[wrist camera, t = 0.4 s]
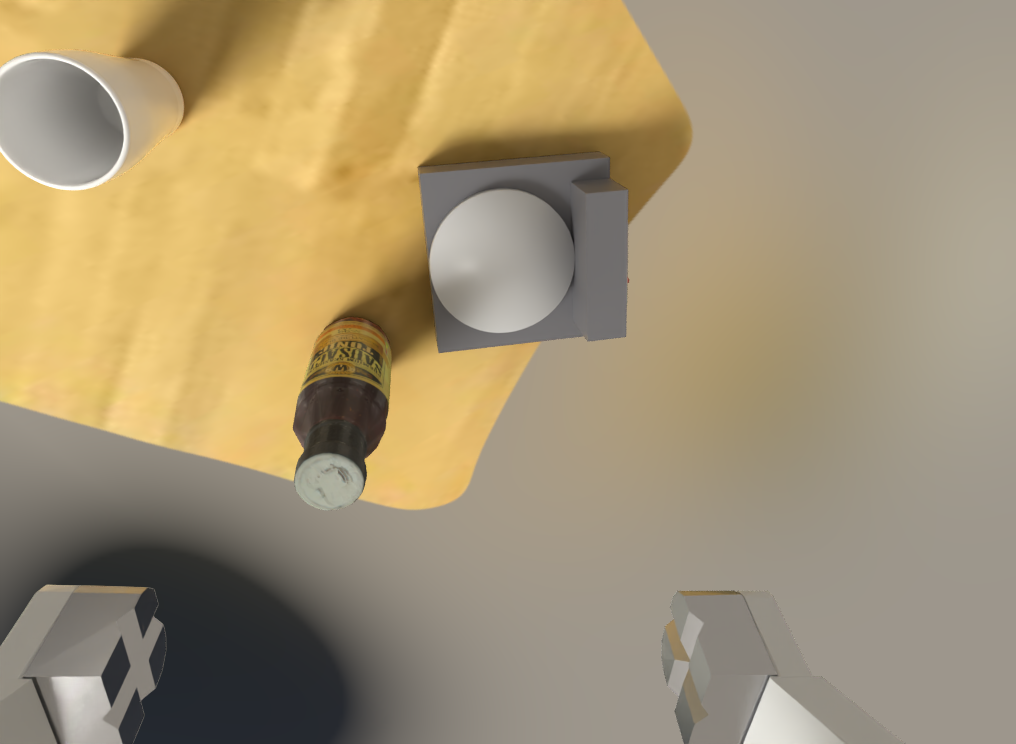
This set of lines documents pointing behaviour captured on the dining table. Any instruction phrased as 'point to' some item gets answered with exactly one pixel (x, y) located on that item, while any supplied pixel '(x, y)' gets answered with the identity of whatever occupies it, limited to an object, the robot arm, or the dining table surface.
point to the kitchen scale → (525, 250)
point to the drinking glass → (83, 115)
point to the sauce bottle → (341, 411)
